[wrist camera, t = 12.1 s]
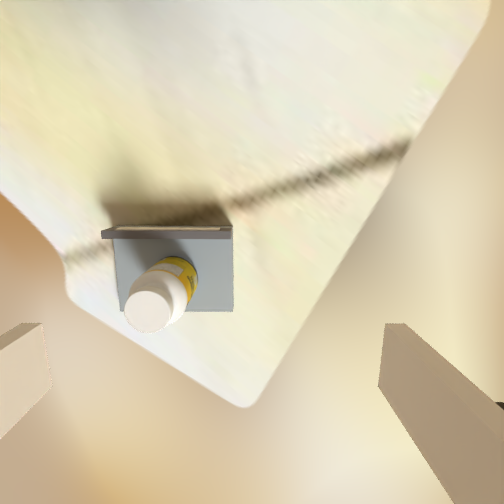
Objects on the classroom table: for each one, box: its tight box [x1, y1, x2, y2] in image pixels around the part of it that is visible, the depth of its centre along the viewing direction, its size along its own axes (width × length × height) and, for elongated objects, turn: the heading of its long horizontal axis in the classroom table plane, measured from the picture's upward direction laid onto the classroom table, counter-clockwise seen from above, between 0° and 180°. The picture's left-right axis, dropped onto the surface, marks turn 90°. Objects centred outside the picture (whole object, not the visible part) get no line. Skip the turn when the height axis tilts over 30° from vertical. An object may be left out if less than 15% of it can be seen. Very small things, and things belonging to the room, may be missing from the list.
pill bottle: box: [124, 256, 198, 333], centre depth 35 cm, size 6×6×12 cm
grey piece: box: [101, 226, 234, 312], centre depth 40 cm, size 12×16×5 cm
